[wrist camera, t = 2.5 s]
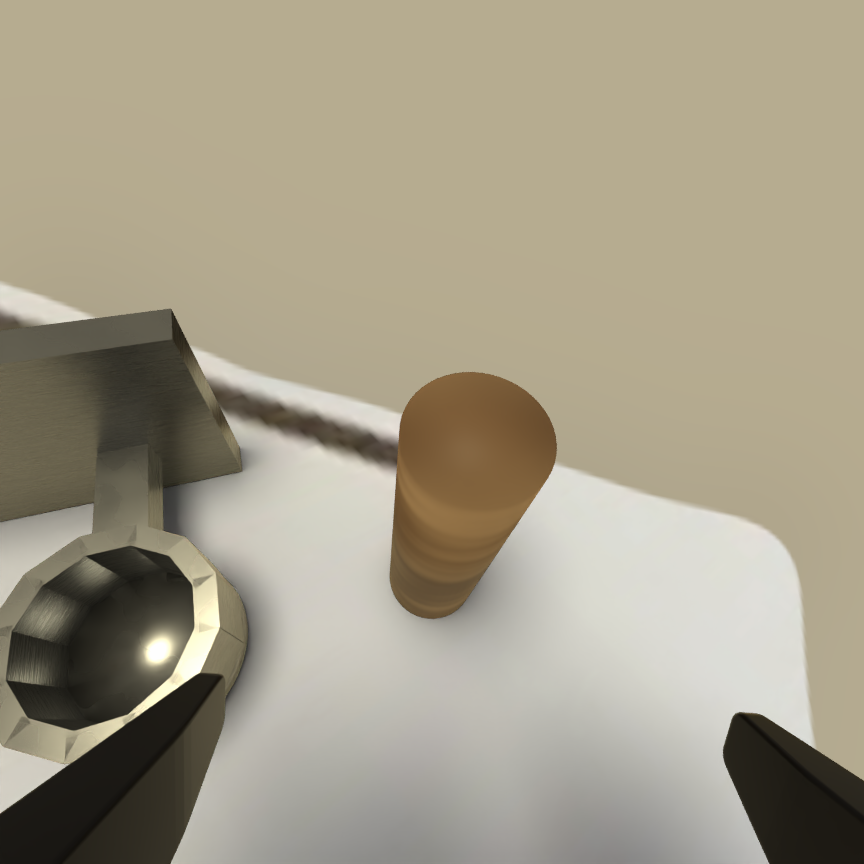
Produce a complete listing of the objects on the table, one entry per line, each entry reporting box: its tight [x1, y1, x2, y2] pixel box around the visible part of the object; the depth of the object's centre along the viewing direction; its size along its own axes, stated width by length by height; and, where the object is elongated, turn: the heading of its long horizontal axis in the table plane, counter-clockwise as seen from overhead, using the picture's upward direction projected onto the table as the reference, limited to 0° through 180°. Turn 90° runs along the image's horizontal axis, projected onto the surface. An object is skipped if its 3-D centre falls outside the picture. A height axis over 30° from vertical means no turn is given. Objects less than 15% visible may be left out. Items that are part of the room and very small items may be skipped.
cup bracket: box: [0, 309, 248, 764], centre depth 17 cm, size 13×13×10 cm
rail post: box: [390, 372, 557, 619], centre depth 18 cm, size 4×4×13 cm
